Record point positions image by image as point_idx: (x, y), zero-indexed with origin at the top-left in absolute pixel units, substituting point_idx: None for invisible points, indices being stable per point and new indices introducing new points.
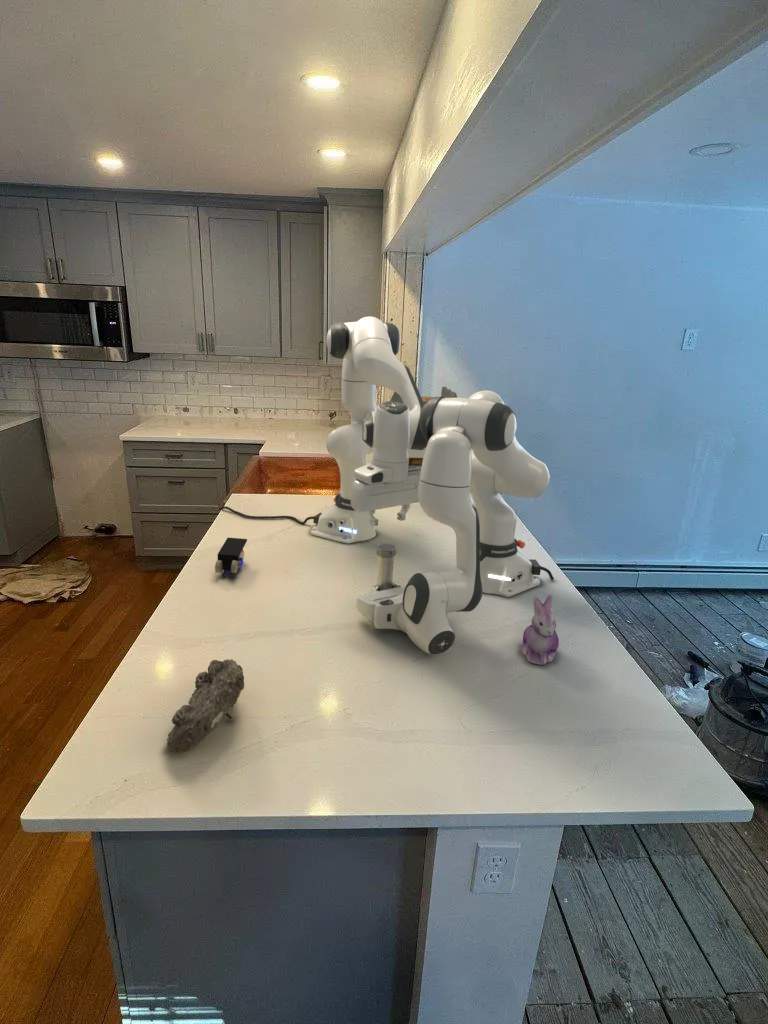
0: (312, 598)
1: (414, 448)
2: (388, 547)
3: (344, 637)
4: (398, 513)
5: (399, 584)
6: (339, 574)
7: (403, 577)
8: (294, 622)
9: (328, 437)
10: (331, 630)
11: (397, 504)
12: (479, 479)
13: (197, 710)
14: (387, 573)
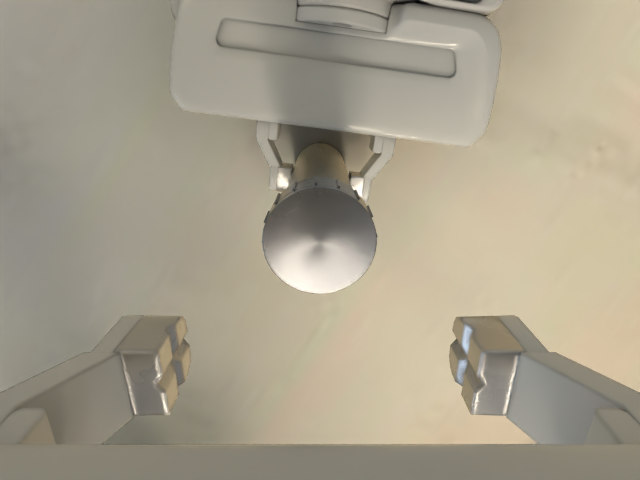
0: (474, 301)
1: None
2: (314, 230)
3: (542, 59)
4: (166, 394)
5: (267, 158)
6: (330, 378)
7: (165, 285)
8: (597, 212)
9: None
10: (545, 118)
11: (200, 463)
12: None
13: None
14: (331, 168)
